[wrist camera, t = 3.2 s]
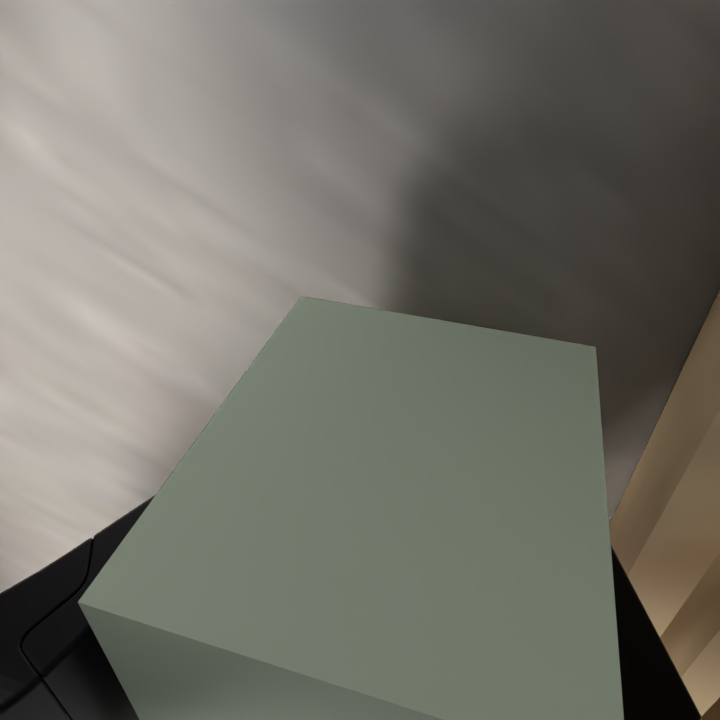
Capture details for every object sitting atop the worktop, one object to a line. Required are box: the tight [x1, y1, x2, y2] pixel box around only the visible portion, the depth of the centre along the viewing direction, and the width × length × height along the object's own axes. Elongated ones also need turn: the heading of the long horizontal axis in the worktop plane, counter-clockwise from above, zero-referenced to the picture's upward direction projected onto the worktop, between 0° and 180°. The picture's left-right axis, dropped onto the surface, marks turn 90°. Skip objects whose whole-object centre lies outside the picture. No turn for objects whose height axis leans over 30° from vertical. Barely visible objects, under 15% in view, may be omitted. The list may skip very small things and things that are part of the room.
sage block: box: [78, 296, 624, 720], centre depth 9 cm, size 5×5×6 cm
